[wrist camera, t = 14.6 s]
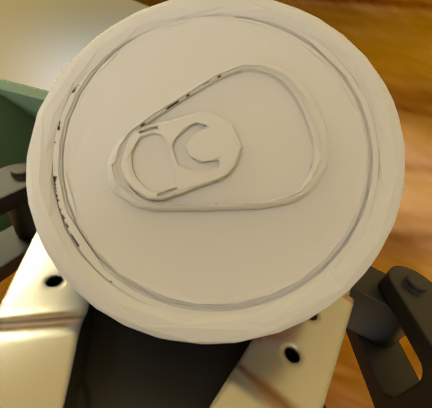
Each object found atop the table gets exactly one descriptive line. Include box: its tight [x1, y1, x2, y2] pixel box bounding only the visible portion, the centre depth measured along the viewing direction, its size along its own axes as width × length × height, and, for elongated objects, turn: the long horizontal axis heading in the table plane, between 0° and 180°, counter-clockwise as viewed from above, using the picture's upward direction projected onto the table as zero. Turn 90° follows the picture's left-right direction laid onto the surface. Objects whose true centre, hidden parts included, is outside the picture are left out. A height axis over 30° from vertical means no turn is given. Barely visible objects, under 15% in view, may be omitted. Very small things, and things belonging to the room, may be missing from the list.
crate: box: [0, 79, 49, 232], centre depth 22 cm, size 12×12×9 cm
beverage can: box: [26, 0, 405, 344], centre depth 11 cm, size 6×6×15 cm
